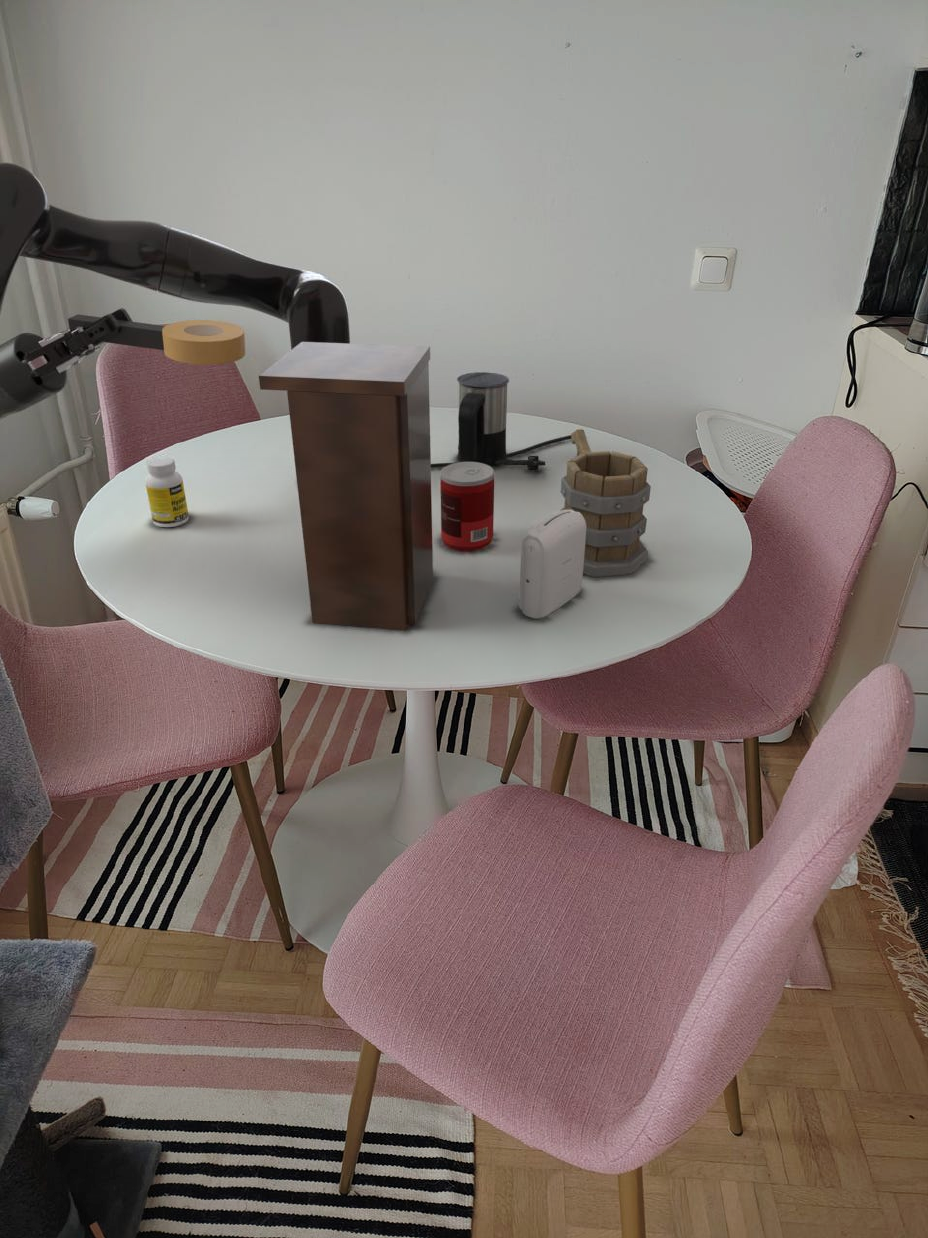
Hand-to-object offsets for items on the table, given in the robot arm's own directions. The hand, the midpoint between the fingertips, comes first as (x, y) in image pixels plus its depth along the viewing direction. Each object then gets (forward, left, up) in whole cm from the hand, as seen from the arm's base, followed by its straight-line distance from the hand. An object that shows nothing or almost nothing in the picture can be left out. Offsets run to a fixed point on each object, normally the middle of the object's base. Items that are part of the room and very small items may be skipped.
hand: (121, 319), depth 99 cm
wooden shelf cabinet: (-19, +19, -35) cm, 44 cm away
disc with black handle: (-3, +3, -3) cm, 5 cm away
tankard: (-54, +26, -35) cm, 69 cm away
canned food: (-40, +14, -35) cm, 55 cm away
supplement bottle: (-7, -19, -35) cm, 40 cm away
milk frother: (-63, -7, -35) cm, 72 cm away
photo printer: (-38, +35, -35) cm, 62 cm away
